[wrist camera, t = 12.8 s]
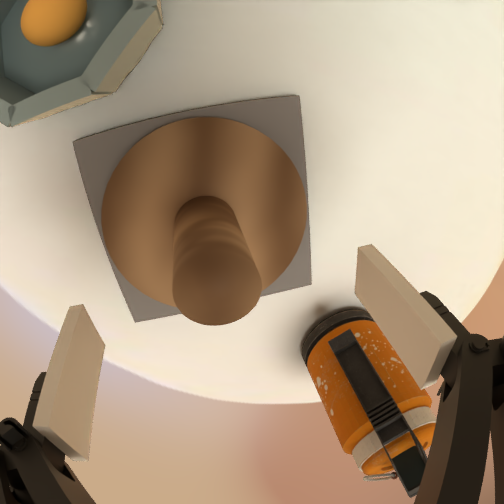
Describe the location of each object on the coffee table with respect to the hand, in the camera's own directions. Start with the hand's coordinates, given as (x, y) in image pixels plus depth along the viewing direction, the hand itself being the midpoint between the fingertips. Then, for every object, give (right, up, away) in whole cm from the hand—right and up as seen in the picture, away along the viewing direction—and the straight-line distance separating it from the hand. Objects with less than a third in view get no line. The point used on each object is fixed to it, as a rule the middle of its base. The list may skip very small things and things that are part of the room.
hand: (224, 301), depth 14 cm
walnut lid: (-2, +4, +9) cm, 10 cm away
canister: (+10, -6, +19) cm, 23 cm away
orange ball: (-11, +16, -2) cm, 20 cm away
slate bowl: (-11, +18, 0) cm, 21 cm away
